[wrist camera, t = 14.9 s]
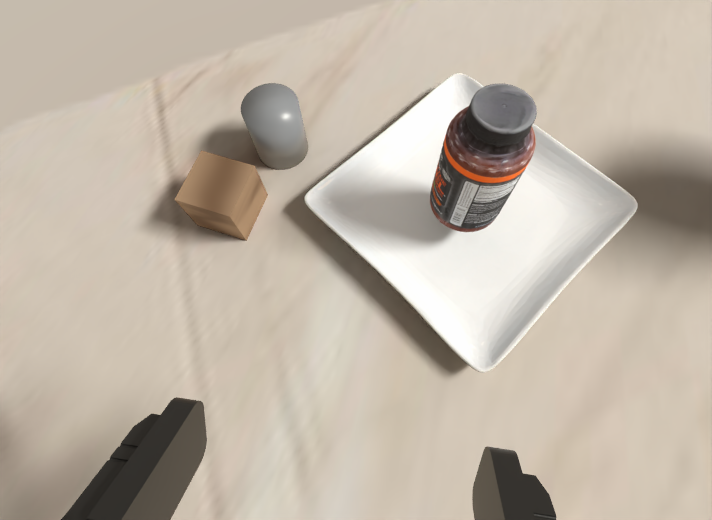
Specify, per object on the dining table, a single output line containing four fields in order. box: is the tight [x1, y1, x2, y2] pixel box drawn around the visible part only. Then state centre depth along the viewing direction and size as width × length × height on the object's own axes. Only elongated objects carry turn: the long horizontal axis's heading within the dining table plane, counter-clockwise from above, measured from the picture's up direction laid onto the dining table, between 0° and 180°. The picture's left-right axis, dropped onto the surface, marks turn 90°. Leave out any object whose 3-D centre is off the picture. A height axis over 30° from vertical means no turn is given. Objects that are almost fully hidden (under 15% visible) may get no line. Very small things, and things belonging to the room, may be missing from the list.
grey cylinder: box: [241, 83, 308, 170], centre depth 39 cm, size 5×5×6 cm
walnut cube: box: [175, 151, 268, 241], centre depth 37 cm, size 5×5×5 cm
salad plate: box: [304, 73, 638, 373], centre depth 37 cm, size 21×21×3 cm
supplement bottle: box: [430, 84, 537, 232], centre depth 30 cm, size 6×6×11 cm
